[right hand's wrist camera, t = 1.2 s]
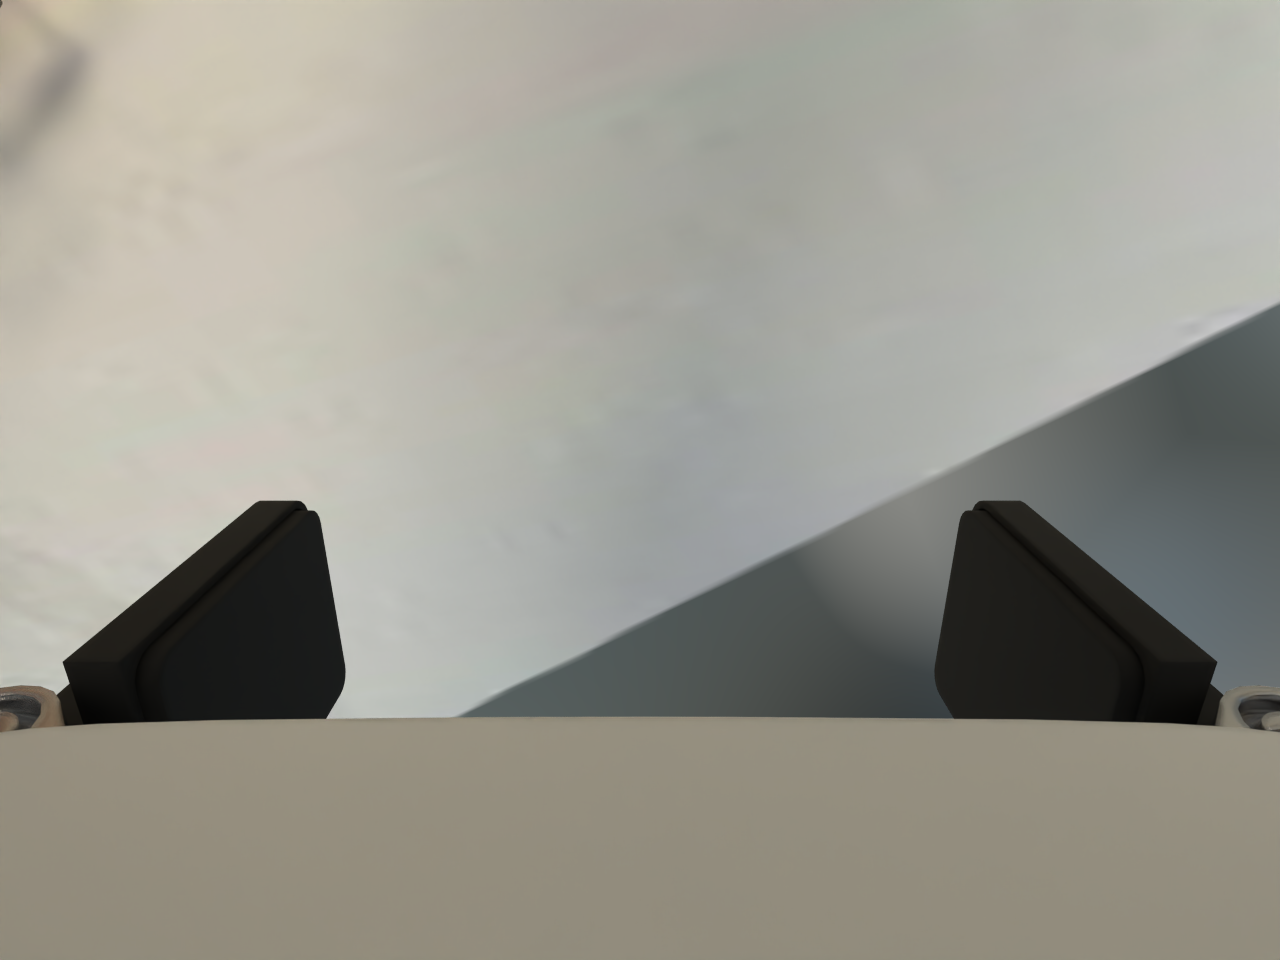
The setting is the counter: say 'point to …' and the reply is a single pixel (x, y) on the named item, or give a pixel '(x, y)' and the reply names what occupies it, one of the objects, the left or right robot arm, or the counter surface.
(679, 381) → the counter surface
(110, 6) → the counter surface
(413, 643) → the counter surface
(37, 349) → the counter surface
